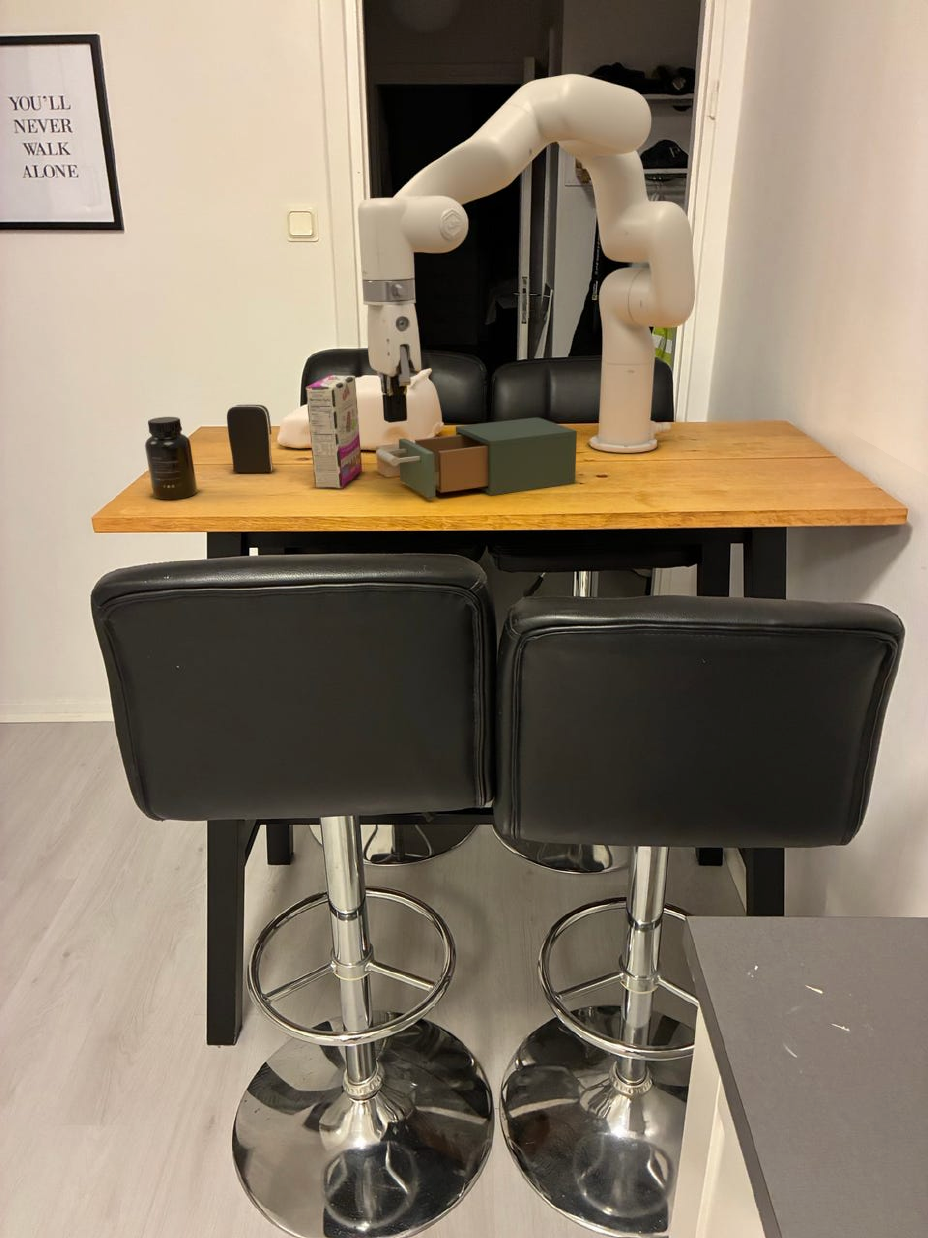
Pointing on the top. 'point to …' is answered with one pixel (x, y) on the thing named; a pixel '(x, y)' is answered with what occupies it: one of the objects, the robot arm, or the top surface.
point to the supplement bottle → (170, 460)
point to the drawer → (440, 463)
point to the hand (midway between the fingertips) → (395, 420)
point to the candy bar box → (334, 431)
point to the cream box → (385, 467)
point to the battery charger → (250, 438)
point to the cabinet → (525, 454)
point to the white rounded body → (377, 415)
